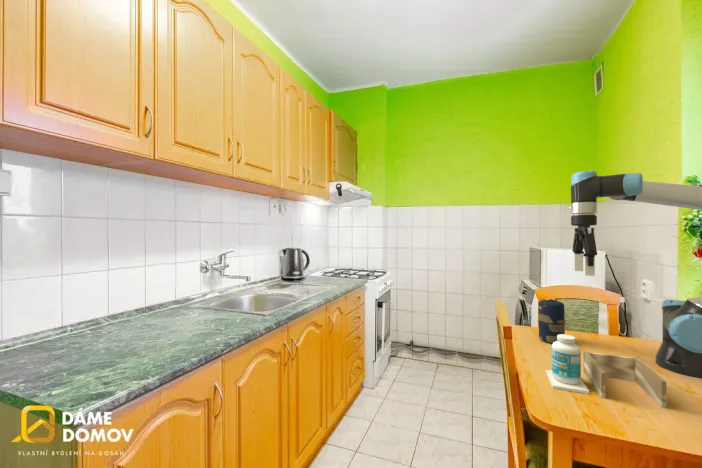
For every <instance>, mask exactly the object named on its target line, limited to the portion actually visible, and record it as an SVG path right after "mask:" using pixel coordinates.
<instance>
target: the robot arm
mask: <svg viewBox="0 0 702 468" xmlns="http://www.w3.org/2000/svg"><path fill="white" fill-rule="evenodd" d="M642 174H643V173H641V172H626V173H620V174H618V173H617V174H610V175H598V173H597V171H595V170H584V171H577V172H575V173H574V172H573V174H571V177H570V180H571V181H570V205H569V209H571V210H570V213H571V214H572V215H571V216H570V226H573V227H574V226H575V228H574V236H573V242H572V243H573V244H572V252H573V257H574V258H573V266H574V267H573V271H574V272H584V276H588V277H589V276H590V277H591V276H592V277H595V276H596V269H595V268H596V267H595V266H596V265H595V263H596V256H597V255H598V250H597V243H596V239H595V237H596V236H595V227H591V226H597V225H598V216H597V214H598V200H597V199H598V198H609V199H611V200H615V201H628V202H629V201H630V202H637V203H638V202H639V203H645V204H655V205H660V206H669V207H676V208H685V209H692V210H698V211H699V210H700V211H702V186H699V185H698V186H697V185H687V184H677V183H667V182H656V181H648V180H647V181H646V180H643V179H644V178H643V175H642ZM576 227H577V228H576ZM661 309H662V327H661V328H662V331H661V333H662V341H661V344H660V346H659V348H658V350H657V352H656V354H655V364H657V365H658V366H659V367H661V368H664V369H666V370H668V371H671V372H674V373H678V374H682V375H686V376H689V377H696V378H702V293H701V294H700V295H698V296H697V297H690V298H687V299H686V300H678V299H664V300H663V301H662V305H661Z"/></svg>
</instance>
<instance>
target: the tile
mask: <svg viewBox="0 0 702 468" xmlns="http://www.w3.org/2000/svg"><path fill="white" fill-rule="evenodd" d="M545 374H546V376H547V378H548V380H549V383H550V385H551V388H552V389H554V390H555V389H556V390H560V391H568V392H572V393H573V392H574V393H582V394H585V395H586V394H587V395H590V390H589V389H588V387H587V386H586V383H585V382H584V381H583V379H582V378H581V381H580V383H578V384H566V383H562V382H560V381H557V380H556V379H554V378H553V376H552V369H545Z"/></svg>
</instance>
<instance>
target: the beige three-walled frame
mask: <svg viewBox="0 0 702 468" xmlns="http://www.w3.org/2000/svg"><path fill="white" fill-rule="evenodd" d="M583 374H584V375H585V377H586V378H587V380H588V381H589V382H590V384H591V385H592V387H593V388H594V389H595V391H596V393H597V394H598V395H599V396H600V398H602V399H607V398H606V397H607V396H606V394H607V391H606V389H607V388H606V387H607V386H606V383H607V382H606V378H610V379H617V380H623V381H624V380H626V381H632V382H635V383H637V385H638V386H639V387H640V388H641V389H642V390H644V392H645V393H646V394H647V395H649V397H650V398H651V399H653V401H654V402H656V404H657V405H659V406H660V408H663V409H667V381H666V380H665V379H663V378H662V376H660V375H659V374H657V372H655V371H654V370H653V369H651V368H650V367H649V366H648V365H647V364H646V363H644V362H643V361H642V360H640V359H639V357H631V356H624V355H616V354H615V355H614V354H607V353H598V352H591V351H590V352H589V351H583Z"/></svg>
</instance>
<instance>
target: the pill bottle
mask: <svg viewBox="0 0 702 468" xmlns="http://www.w3.org/2000/svg"><path fill="white" fill-rule="evenodd" d="M557 340H558V341H555V342H554V343H551V370H552V376H553V378H554V379H556V380H557V381H560V382H562V383H566V384H578V383H580V381H581V379H582V378H581V377H582V375H581V373H582V372H581V371H582V370H581V367H582V364H581V363H582V359H581V358H582V350H581V347H580V346H579V345H578V344H576V337H575V336H573V335H570V334H558V335H557Z"/></svg>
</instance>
